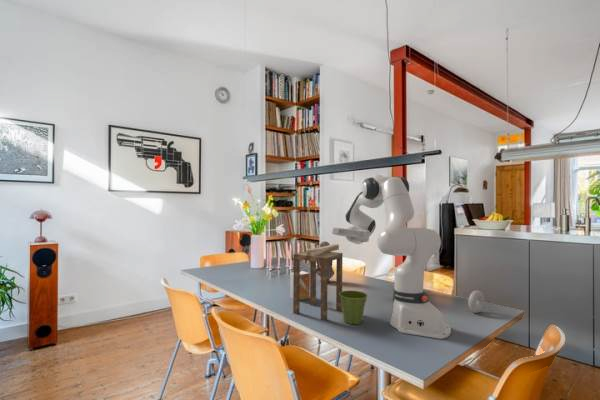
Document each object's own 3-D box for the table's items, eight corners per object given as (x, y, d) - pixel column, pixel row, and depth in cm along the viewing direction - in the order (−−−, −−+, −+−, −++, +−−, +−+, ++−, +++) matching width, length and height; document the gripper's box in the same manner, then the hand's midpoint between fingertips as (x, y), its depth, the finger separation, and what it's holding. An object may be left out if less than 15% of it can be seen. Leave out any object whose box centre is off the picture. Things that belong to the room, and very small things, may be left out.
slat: (338, 249, 158) (338, 244, 158) (313, 256, 138) (313, 250, 138) (333, 249, 159) (333, 244, 159) (307, 255, 140) (307, 249, 140)
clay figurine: (326, 279, 206) (327, 240, 207) (338, 282, 199) (338, 241, 199) (312, 282, 198) (312, 241, 198) (323, 285, 190) (323, 243, 191)
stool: (342, 310, 146) (342, 253, 147) (324, 320, 133) (325, 257, 133) (312, 303, 155) (312, 249, 156) (293, 313, 142) (293, 254, 142)
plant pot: (362, 329, 124) (362, 300, 125) (334, 323, 130) (334, 295, 130) (371, 319, 135) (371, 292, 135) (344, 314, 141) (345, 288, 141)
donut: (474, 316, 140) (474, 293, 140) (466, 313, 143) (466, 291, 143) (486, 311, 146) (486, 289, 146) (478, 309, 149) (478, 288, 149)
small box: (296, 301, 159) (296, 274, 160) (289, 297, 165) (290, 272, 165) (309, 298, 164) (310, 273, 164) (302, 295, 169) (303, 270, 169)
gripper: (336, 227, 185) (329, 223, 172) (372, 230, 176) (367, 227, 164) (335, 237, 184) (327, 234, 171) (371, 242, 175) (366, 239, 163)
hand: (347, 231), depth 167 cm, fingers open, 8 cm apart
